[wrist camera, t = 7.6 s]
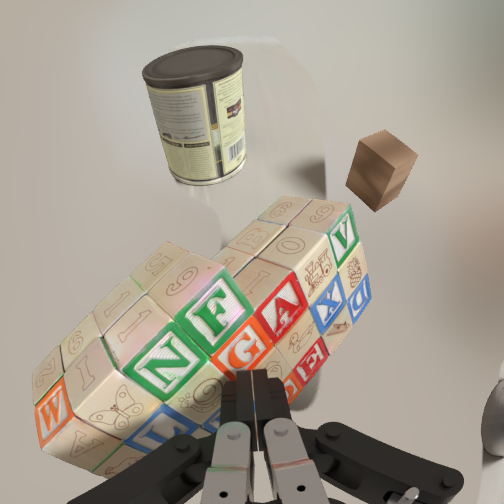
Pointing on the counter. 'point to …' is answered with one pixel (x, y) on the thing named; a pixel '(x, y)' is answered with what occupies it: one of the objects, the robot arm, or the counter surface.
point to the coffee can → (199, 112)
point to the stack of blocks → (201, 335)
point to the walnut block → (380, 169)
